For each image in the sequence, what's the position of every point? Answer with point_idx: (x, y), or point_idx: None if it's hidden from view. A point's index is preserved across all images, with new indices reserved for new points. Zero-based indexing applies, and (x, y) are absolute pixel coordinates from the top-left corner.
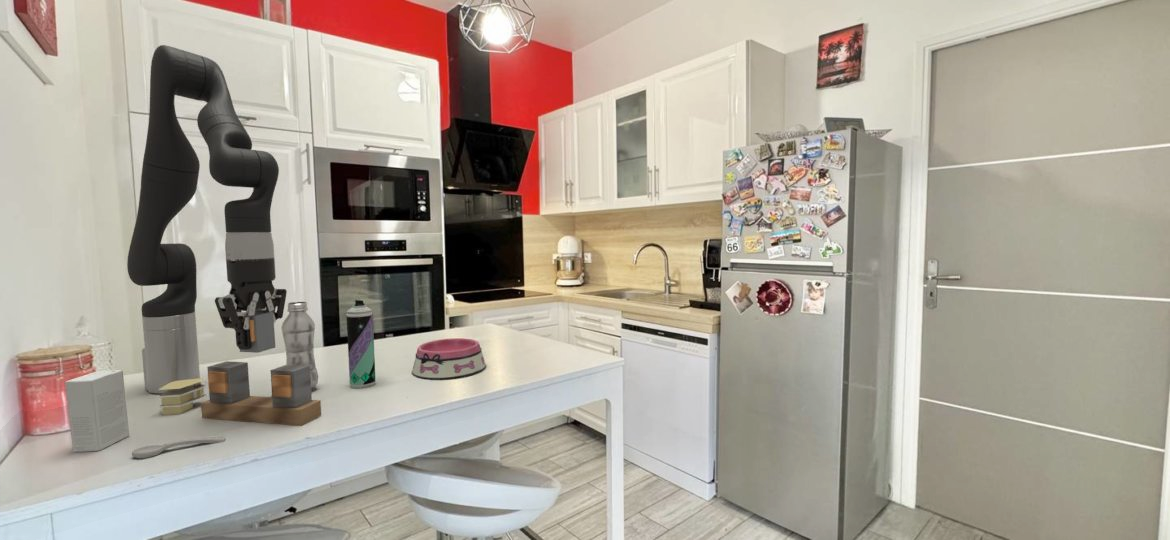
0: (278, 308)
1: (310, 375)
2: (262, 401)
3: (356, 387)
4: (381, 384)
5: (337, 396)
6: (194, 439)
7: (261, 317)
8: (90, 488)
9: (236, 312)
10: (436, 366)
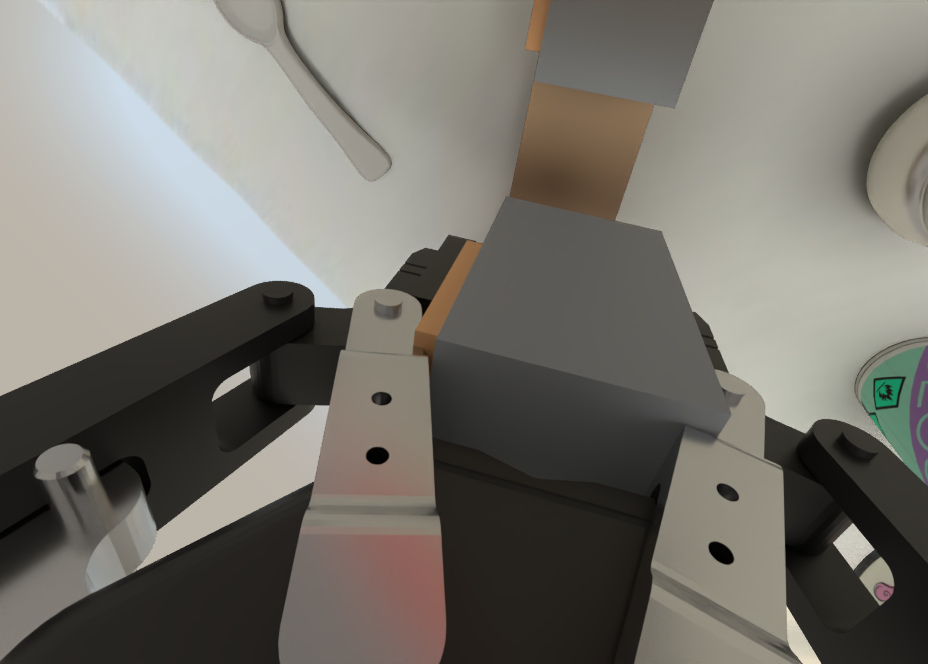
0: (799, 610)
1: (921, 242)
2: (568, 191)
3: (861, 373)
4: (881, 437)
5: (763, 337)
6: (318, 115)
7: None
8: (90, 31)
9: (205, 491)
10: None
